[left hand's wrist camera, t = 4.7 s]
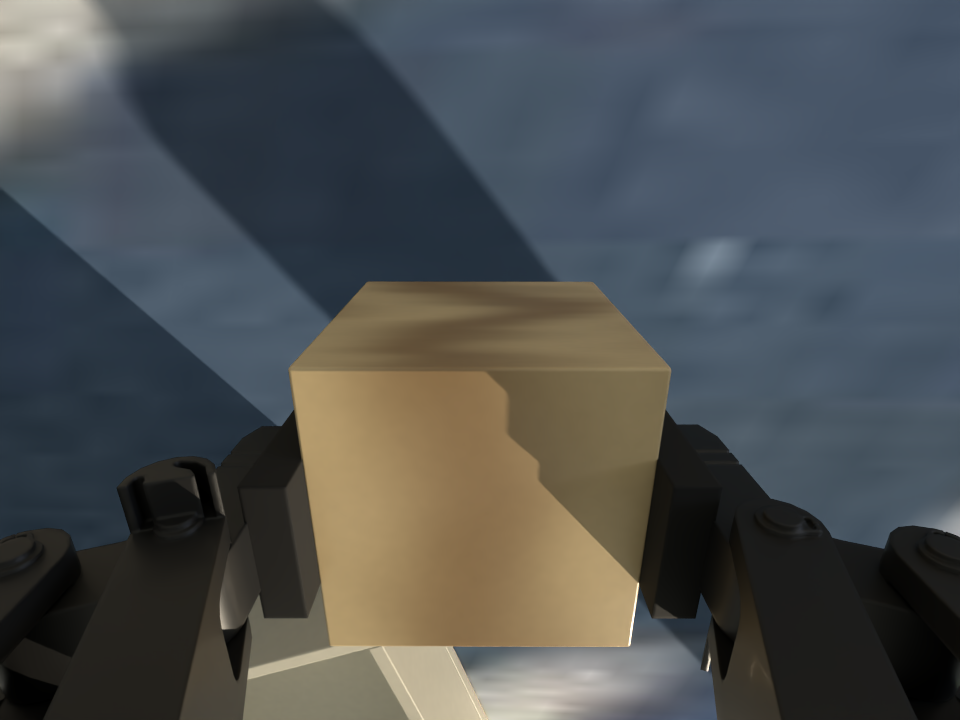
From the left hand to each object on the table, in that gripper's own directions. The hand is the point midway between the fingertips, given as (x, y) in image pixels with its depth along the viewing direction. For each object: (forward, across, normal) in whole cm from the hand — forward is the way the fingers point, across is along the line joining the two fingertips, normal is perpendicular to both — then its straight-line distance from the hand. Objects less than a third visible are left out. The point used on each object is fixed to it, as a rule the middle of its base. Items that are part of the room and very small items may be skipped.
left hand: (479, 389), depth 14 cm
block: (0, 0, 0) cm, 0 cm away
